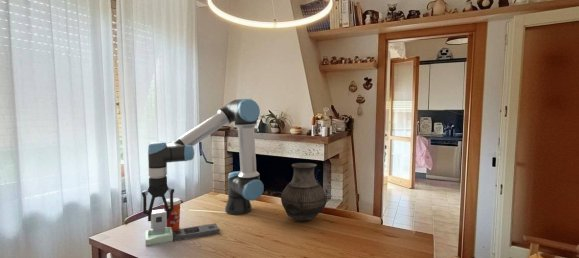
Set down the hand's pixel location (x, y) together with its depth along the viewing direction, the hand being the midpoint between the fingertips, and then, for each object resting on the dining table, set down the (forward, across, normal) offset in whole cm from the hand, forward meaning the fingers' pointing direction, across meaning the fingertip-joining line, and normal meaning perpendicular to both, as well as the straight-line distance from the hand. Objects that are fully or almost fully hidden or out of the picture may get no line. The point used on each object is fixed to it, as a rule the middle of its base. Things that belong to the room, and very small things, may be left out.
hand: (159, 226), depth 132 cm
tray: (+5, 0, 0) cm, 5 cm away
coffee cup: (+6, -6, -8) cm, 12 cm away
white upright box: (+3, 0, 0) cm, 3 cm away
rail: (+5, -16, +2) cm, 17 cm away
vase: (+6, -71, +7) cm, 72 cm away
